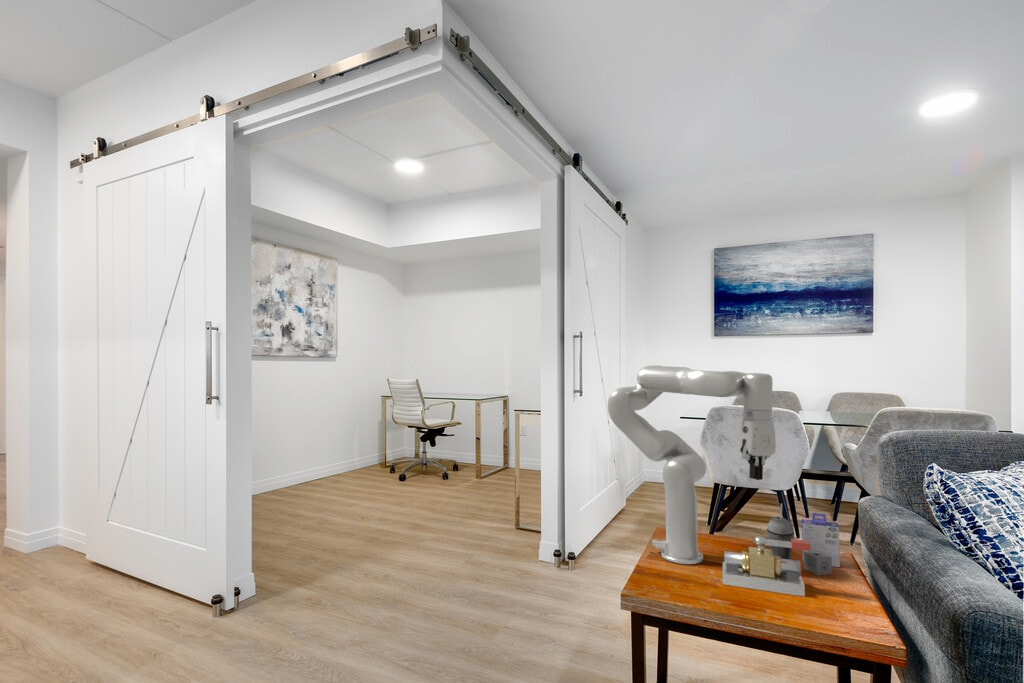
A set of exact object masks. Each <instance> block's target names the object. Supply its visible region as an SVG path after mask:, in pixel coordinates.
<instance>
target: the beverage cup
mask: <svg viewBox="0 0 1024 683" xmlns="http://www.w3.org/2000/svg"><path fill="white" fill-rule="evenodd" d="M779 508H780V512H779V513H780V515H779V516H776V517H772V518H771V519H770V520H769V522H768V523H767V527H766V528H767V529H766V531H767V537H768V539H771V540H780V541H789V542H791V539H794V535H795V531H794V530H795V529H794V527H793V525H792V523H791V522H790V521H789V520H788V519H786V518H785V517H783V503H780V507H779ZM769 549H772V551H773V555H776V556H780V558H781V559H789V560H792V552H793V551H792V550H793V549H792V548H787V547H778V546H770V545H769Z"/></svg>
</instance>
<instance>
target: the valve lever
mask: <svg viewBox="0 0 1024 683" xmlns="http://www.w3.org/2000/svg"><path fill="white" fill-rule="evenodd" d="M754 543H755V544H756V545H757V546H758V545H764V546H769V547H770V546H778V547H787V548H792V550H799V551H803V550H806V551H811V544H810V542H809V541H807V540H802V539H799V538H798V539H795V538H793V539H791V542H789V541H780V540H771V539H769V538H767V537H764V536H759V535H756V536H754Z"/></svg>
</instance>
